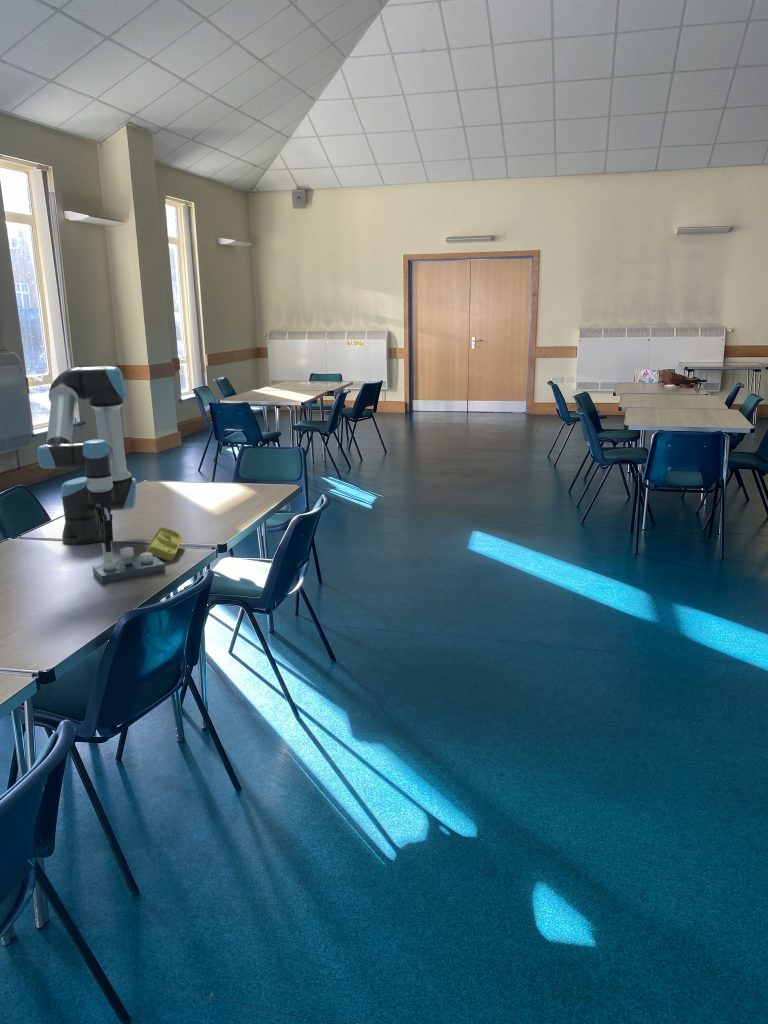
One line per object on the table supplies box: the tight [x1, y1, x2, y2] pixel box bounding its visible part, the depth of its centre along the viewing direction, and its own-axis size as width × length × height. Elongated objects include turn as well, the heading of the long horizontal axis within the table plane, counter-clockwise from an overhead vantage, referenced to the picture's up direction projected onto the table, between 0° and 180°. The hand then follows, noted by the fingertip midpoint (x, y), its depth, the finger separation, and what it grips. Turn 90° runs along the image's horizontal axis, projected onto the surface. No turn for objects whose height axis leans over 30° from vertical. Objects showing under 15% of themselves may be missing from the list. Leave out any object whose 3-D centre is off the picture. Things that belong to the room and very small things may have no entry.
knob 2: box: [139, 551, 153, 563], centre depth 250 cm, size 4×4×5 cm
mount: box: [92, 555, 166, 586], centre depth 247 cm, size 12×20×3 cm, turn 124°
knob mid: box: [119, 546, 135, 565], centre depth 246 cm, size 4×4×5 cm
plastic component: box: [144, 526, 183, 562], centre depth 267 cm, size 20×7×10 cm
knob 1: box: [101, 559, 117, 571], centre depth 243 cm, size 4×4×5 cm
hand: (108, 560), depth 242 cm, fingers closed
